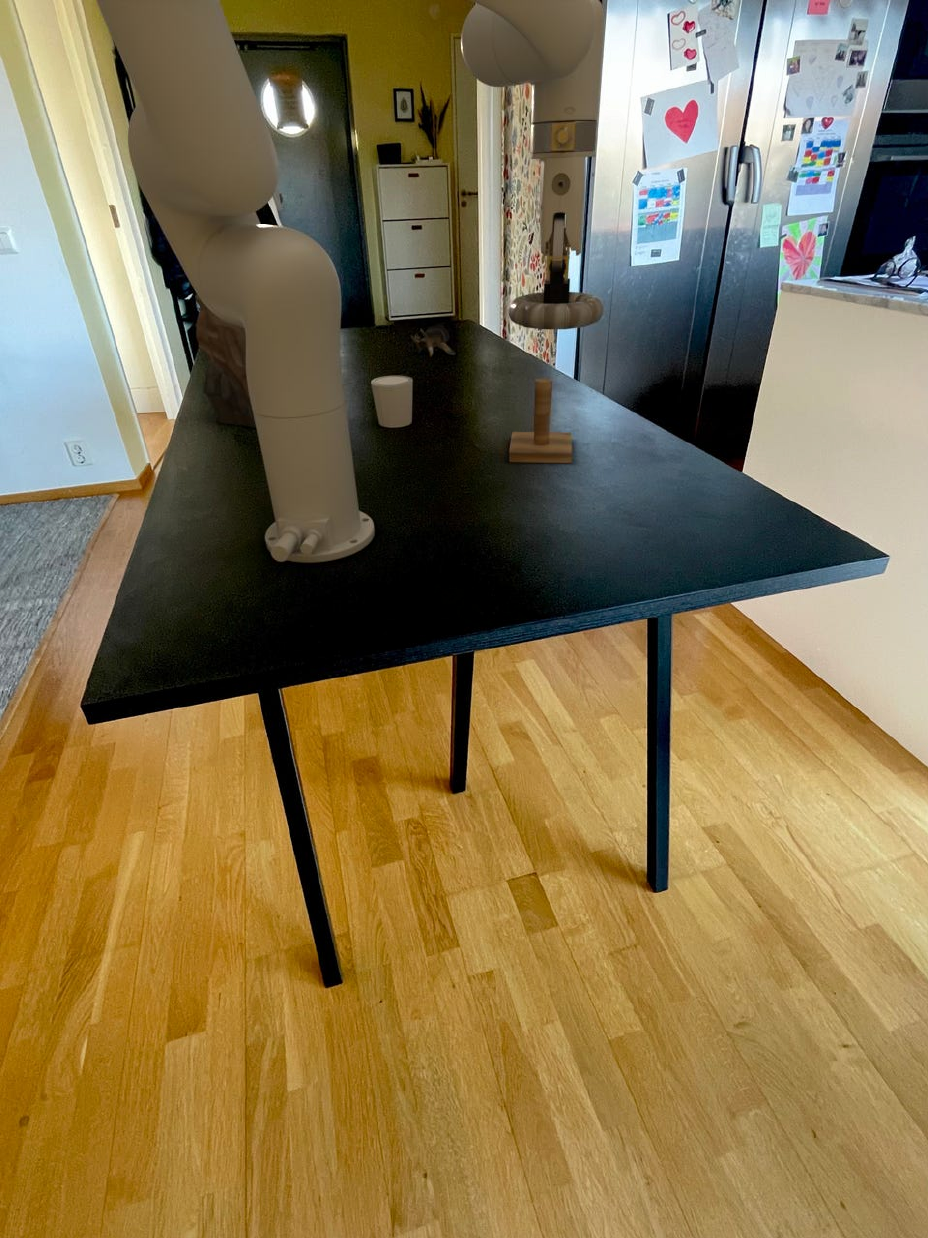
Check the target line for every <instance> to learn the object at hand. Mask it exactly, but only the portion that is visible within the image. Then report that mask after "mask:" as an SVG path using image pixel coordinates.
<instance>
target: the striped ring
mask: <svg viewBox="0 0 928 1238" xmlns="http://www.w3.org/2000/svg"><path fill="white" fill-rule="evenodd" d="M543 302H544V291H542V292H533V293H528V294H524V295H519V296H517V297H515V298H514V299H513V300H512V302H511V303H510V306H509V308H508V316H509V319H510V320H511V321H512V322H513V323H514V324H516V325H519V326H521V327H523V328H527V329H534V330H535V329H537V330H571V329H579V328H580V329H581V328H585V327H588V326H591V325H594V324H597V323H598V322H599V321H600V320H601V319H602V317H603V315H604V305H603V301H602V300H601V298H600V297H598V296H597V295H593V294H590V293H587V292H578V291H577V292H576V291H569V303H566V304H543Z"/></svg>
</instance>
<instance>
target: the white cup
mask: <svg viewBox="0 0 928 1238" xmlns="http://www.w3.org/2000/svg"><path fill="white" fill-rule="evenodd" d="M413 381H414V380H413V378H412V377H410V376H407V375H385V376H379V377H376V378H374V379H372V380H371V382H370V385H371V390H372V394H373V400H374V405H375V406H374V407H375V410H376V416H377V421H378V425H379V426H381V427H384V428H393V429H395V428H403V427H406V426H409V425H411V424H412V421H413Z"/></svg>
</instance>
